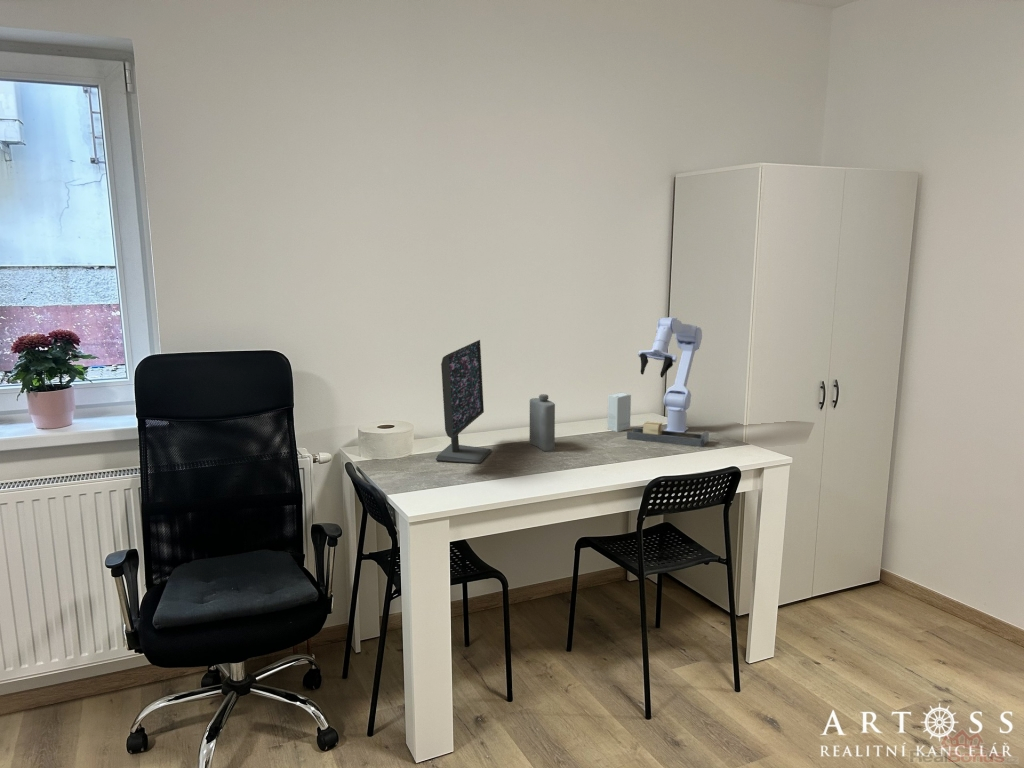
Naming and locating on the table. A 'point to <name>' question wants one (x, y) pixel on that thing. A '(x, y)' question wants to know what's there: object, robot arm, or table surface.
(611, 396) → the skincare box
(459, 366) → the computer monitor
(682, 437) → the chute
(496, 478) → the table surface
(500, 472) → the table surface
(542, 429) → the flask
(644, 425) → the maple block
